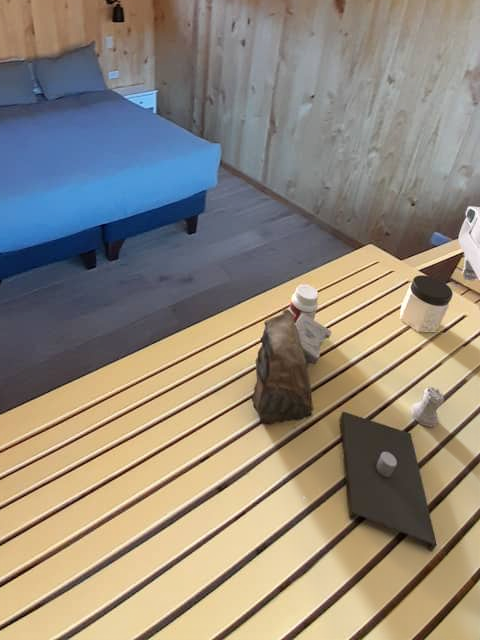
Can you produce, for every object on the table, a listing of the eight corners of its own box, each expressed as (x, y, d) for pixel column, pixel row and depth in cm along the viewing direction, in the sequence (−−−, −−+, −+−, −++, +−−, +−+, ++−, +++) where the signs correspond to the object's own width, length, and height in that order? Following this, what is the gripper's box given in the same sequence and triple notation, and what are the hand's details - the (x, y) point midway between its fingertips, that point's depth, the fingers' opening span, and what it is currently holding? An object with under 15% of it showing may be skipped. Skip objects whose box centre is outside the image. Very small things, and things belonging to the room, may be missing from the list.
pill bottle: (283, 314, 108) (290, 282, 103) (305, 313, 108) (314, 282, 103) (291, 333, 103) (299, 300, 98) (315, 333, 103) (325, 300, 97)
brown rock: (258, 429, 82) (273, 365, 73) (232, 373, 93) (242, 311, 84) (314, 418, 84) (336, 354, 75) (282, 364, 95) (298, 303, 86)
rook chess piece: (426, 431, 81) (440, 407, 77) (405, 411, 85) (417, 387, 81) (440, 422, 82) (454, 398, 79) (418, 402, 86) (431, 379, 83)
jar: (408, 332, 102) (424, 298, 97) (391, 307, 109) (404, 274, 104) (445, 334, 101) (463, 299, 96) (425, 308, 109) (441, 275, 103)
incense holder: (309, 387, 90) (319, 356, 85) (273, 365, 95) (280, 334, 90) (323, 357, 96) (333, 327, 91) (289, 338, 101) (296, 308, 96)
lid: (406, 440, 80) (416, 422, 77) (432, 551, 65) (444, 534, 62) (339, 418, 84) (346, 400, 81) (349, 518, 69) (357, 501, 66)
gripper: (563, 280, 59) (523, 344, 65) (505, 208, 76) (477, 264, 82) (510, 270, 61) (475, 332, 68) (464, 202, 78) (440, 257, 84)
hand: (476, 294), depth 75 cm, fingers open, 8 cm apart
